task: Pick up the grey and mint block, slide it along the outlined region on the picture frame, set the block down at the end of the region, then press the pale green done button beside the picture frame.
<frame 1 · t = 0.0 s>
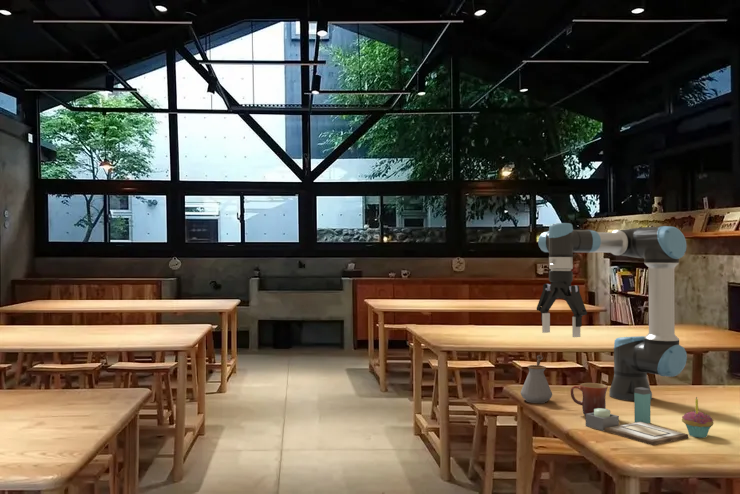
hand: (560, 334, 215), 28 cm above the table, tool pointing down, fingers open, 13 cm apart
done button: (602, 415, 206), point 4 cm above the table, slide at 0.0 cm
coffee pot: (537, 398, 247), on the table
picture frame: (645, 434, 197), on the table
grey and mint block: (642, 422, 211), on the table
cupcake: (697, 436, 197), on the table
button frame: (602, 427, 206), on the table
mug: (589, 415, 221), on the table
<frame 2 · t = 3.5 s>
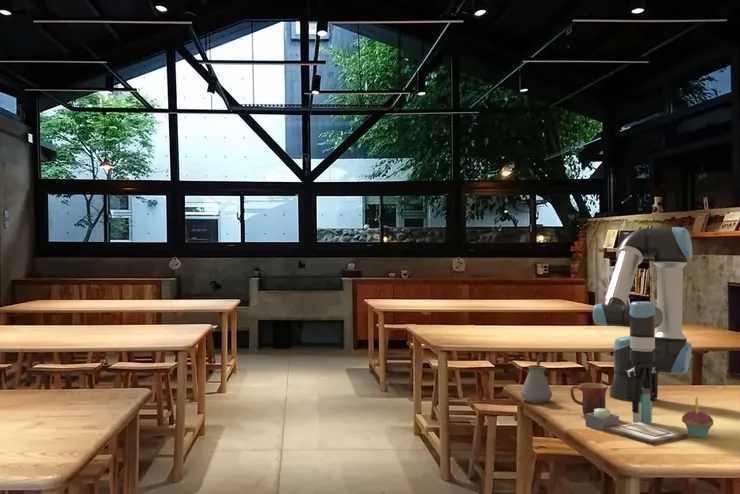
hand: (642, 421, 211), 0 cm above the table, tool pointing down, fingers open, 4 cm apart
nothing on the table moved.
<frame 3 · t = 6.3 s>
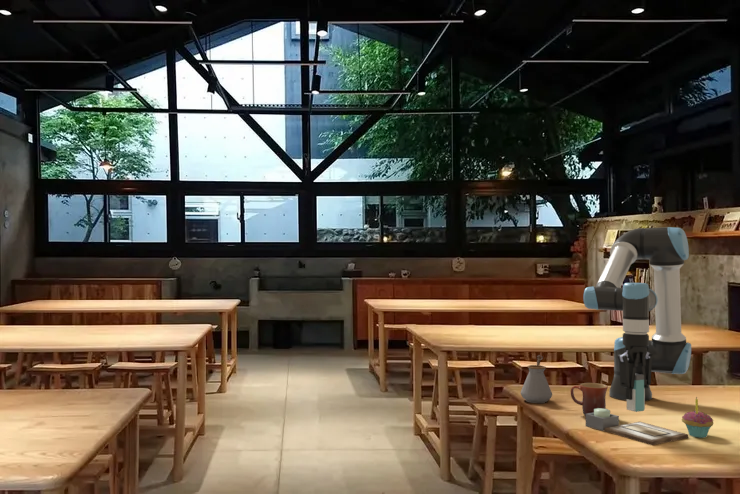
hand: (635, 409, 200), 7 cm above the table, tool pointing down, fingers closed on grey and mint block, 3 cm apart
grey and mint block: (635, 410, 200), point 7 cm above the table, touching gripper
everything else where it was.
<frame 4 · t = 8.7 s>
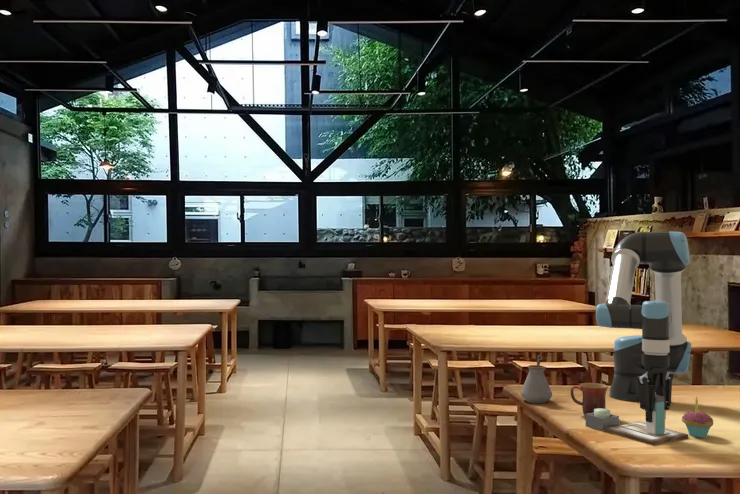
hand: (655, 431, 194), 2 cm above the table, tool pointing down, fingers closed on grey and mint block, 3 cm apart
grey and mint block: (655, 432, 194), point 1 cm above the table, touching picture frame, gripper
everything else where it was.
when the fingers open (2 cm above the table, at t = 8.9 s): grey and mint block stays where it is, resting on picture frame.
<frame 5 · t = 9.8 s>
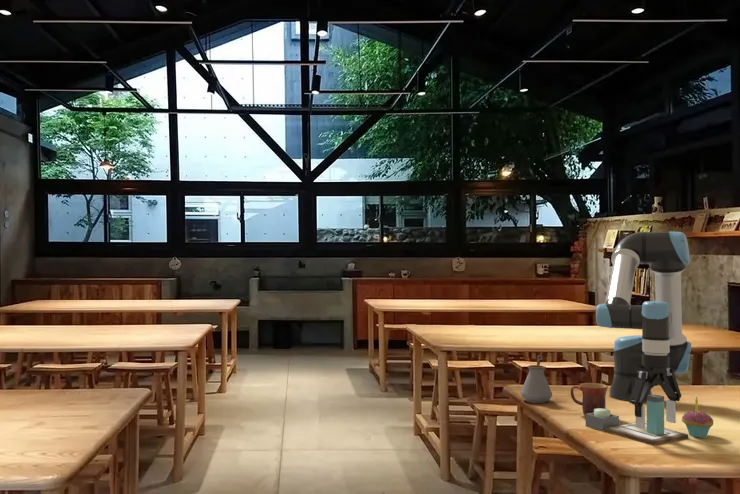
hand: (655, 424, 194), 4 cm above the table, tool pointing down, fingers open, 13 cm apart
grey and mint block: (655, 432, 194), point 1 cm above the table, touching picture frame
everything else where it was.
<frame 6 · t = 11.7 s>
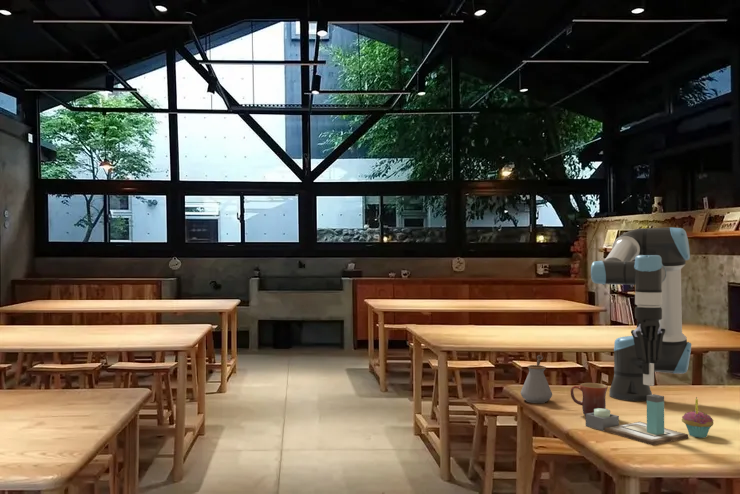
hand: (648, 384, 196), 15 cm above the table, tool pointing down, fingers closed
nothing on the table moved.
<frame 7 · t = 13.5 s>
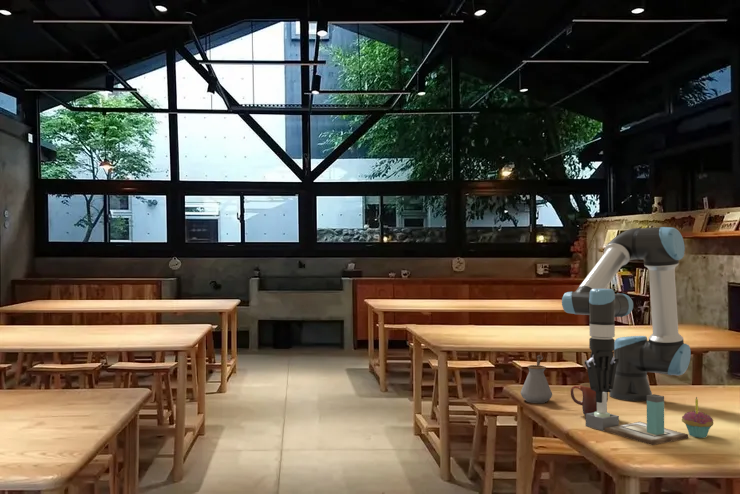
hand: (601, 412, 206), 5 cm above the table, tool pointing down, fingers closed
done button: (602, 418, 206), point 3 cm above the table, slide at 1.0 cm, touching gripper
everything else where it was.
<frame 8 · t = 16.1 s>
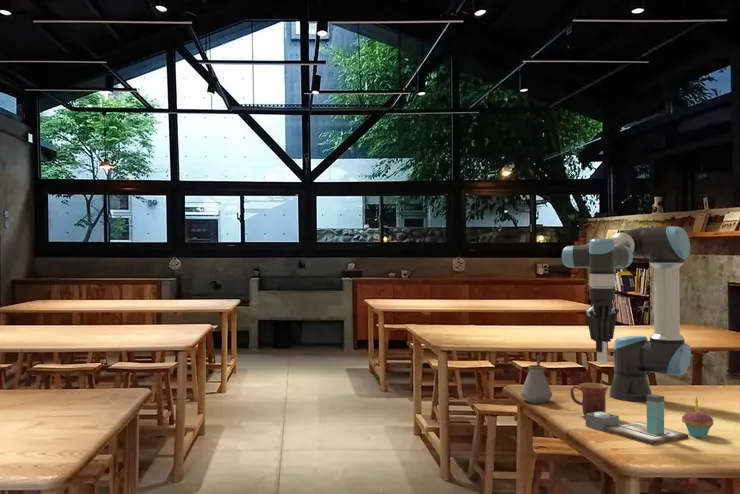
hand: (601, 362, 206), 20 cm above the table, tool pointing down, fingers closed
done button: (602, 419, 206), point 2 cm above the table, slide at 1.1 cm
everything else where it was.
at the end: grey and mint block inside the target area on the picture frame (3.0 cm from its centre), point 1.3 cm above the picture frame's base; the gripper is holding nothing; done button slide at 1.1 cm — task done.
